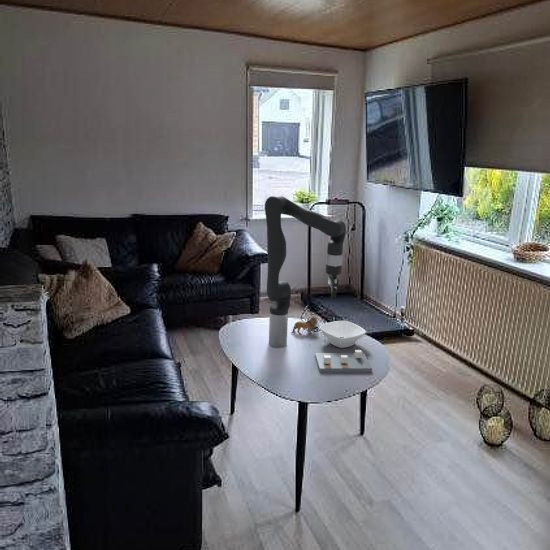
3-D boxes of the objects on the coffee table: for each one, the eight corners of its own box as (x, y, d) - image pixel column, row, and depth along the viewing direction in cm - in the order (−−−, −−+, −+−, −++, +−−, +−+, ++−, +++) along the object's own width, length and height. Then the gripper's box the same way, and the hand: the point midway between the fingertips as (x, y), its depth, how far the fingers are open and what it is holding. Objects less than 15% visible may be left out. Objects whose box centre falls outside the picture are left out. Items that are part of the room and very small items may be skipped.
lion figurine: (314, 329, 273) (315, 314, 270) (318, 333, 268) (319, 318, 265) (289, 332, 268) (290, 316, 266) (292, 336, 263) (293, 320, 261)
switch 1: (323, 361, 230) (323, 355, 229) (329, 361, 231) (330, 355, 230) (324, 363, 228) (324, 357, 227) (330, 363, 228) (331, 357, 227)
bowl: (343, 333, 269) (344, 318, 267) (370, 347, 253) (371, 332, 250) (313, 340, 258) (314, 325, 256) (338, 356, 242) (339, 340, 239)
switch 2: (340, 361, 231) (340, 355, 230) (346, 360, 231) (347, 355, 231) (341, 363, 229) (341, 357, 228) (347, 363, 229) (348, 357, 228)
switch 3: (354, 355, 237) (354, 350, 236) (360, 355, 237) (361, 350, 236) (355, 357, 235) (356, 352, 234) (361, 357, 235) (362, 352, 234)
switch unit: (314, 356, 240) (315, 352, 239) (363, 356, 242) (363, 352, 241) (319, 372, 225) (320, 368, 224) (371, 372, 226) (372, 367, 226)
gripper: (323, 259, 237) (321, 291, 241) (328, 267, 223) (326, 301, 228) (339, 259, 237) (336, 291, 242) (345, 267, 224) (342, 301, 228)
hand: (331, 296), depth 235 cm, fingers open, 8 cm apart
